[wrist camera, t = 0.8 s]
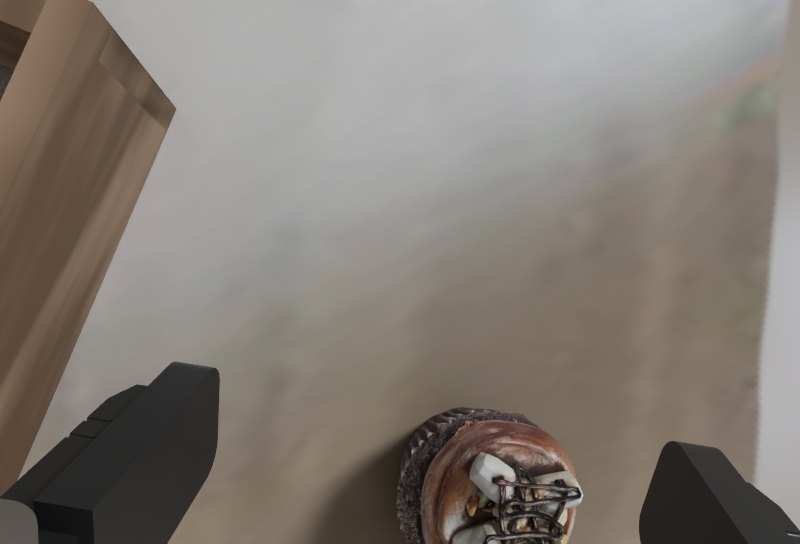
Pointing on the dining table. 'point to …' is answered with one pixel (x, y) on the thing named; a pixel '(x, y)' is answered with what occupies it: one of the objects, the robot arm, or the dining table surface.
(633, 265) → the dining table surface
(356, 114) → the dining table surface
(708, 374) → the dining table surface
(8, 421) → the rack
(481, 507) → the cupcake
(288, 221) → the dining table surface
